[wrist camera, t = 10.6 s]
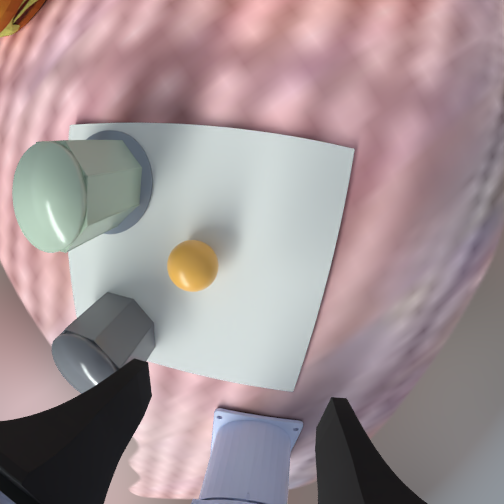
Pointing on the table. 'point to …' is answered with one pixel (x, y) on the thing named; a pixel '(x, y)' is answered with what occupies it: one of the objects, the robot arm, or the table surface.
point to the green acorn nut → (74, 191)
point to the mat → (225, 247)
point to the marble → (192, 265)
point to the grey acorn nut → (103, 341)
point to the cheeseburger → (16, 14)
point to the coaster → (145, 178)
